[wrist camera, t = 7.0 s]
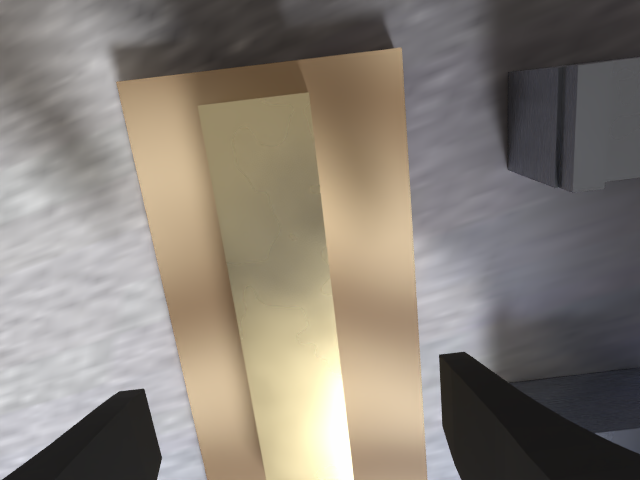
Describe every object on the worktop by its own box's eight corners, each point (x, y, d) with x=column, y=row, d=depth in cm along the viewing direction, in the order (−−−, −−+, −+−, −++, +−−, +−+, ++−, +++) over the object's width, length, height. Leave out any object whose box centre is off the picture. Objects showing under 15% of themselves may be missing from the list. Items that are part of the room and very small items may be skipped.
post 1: (669, 150, 15) (776, 168, 12) (508, 170, 15) (568, 193, 12) (679, 51, 15) (799, 38, 11) (508, 72, 15) (573, 65, 11)
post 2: (640, 433, 19) (718, 513, 15) (507, 449, 19) (554, 532, 15) (646, 367, 18) (731, 435, 14) (507, 383, 18) (558, 455, 14)
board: (422, 480, 19) (428, 500, 18) (222, 503, 19) (217, 525, 18) (395, 50, 14) (401, 47, 13) (128, 82, 14) (116, 81, 13)
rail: (353, 485, 18) (361, 549, 15) (284, 493, 18) (280, 559, 15) (308, 92, 14) (308, 91, 11) (217, 102, 14) (197, 105, 11)
